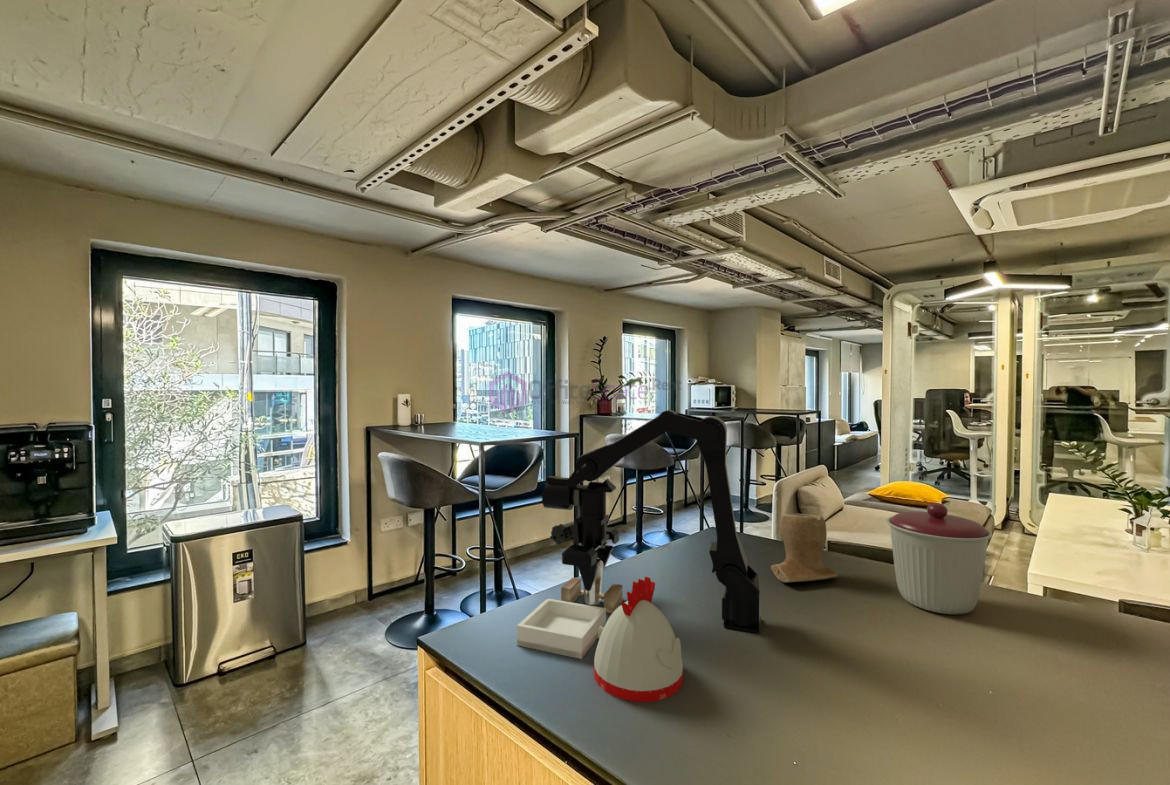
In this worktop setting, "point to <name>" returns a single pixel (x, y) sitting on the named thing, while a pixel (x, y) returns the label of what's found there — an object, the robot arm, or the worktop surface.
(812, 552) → the tan flared pedestal
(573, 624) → the tray
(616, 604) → the wooden joined piece
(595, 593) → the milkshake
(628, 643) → the kitchen timer
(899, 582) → the canister
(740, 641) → the worktop surface
